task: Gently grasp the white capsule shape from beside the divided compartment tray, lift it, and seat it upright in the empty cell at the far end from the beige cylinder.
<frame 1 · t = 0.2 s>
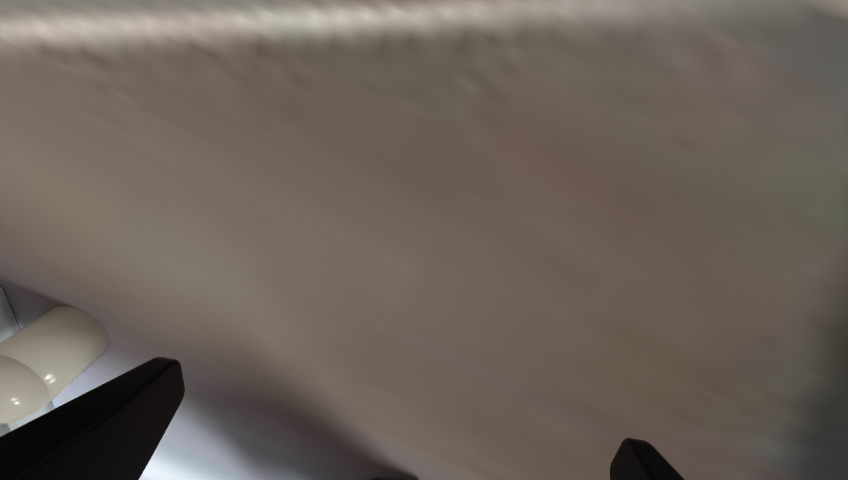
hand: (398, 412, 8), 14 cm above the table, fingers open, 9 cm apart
divided compartment tray: (4, 395, 32), on the table
white capsule shape: (77, 332, 28), on the table
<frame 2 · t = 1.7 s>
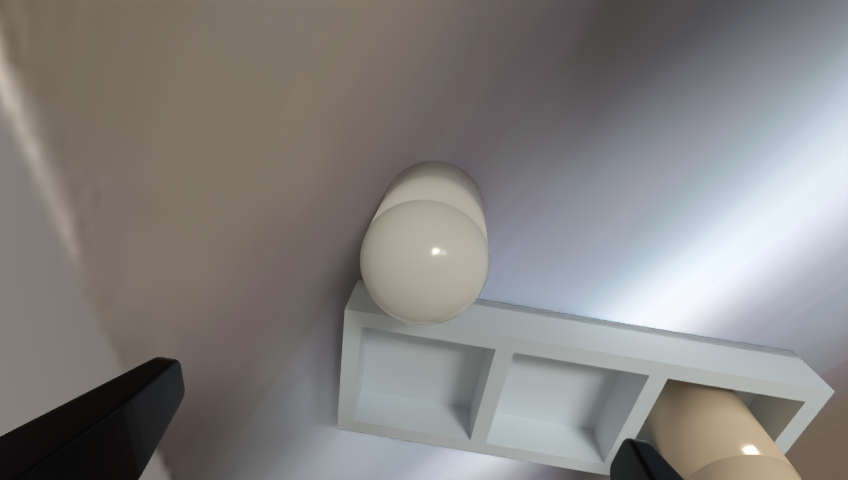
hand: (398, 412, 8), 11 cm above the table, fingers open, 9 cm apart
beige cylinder: (685, 402, 21), point 1 cm above the table, touching divided compartment tray
divided compartment tray: (551, 373, 22), on the table
white capsule shape: (433, 210, 18), on the table
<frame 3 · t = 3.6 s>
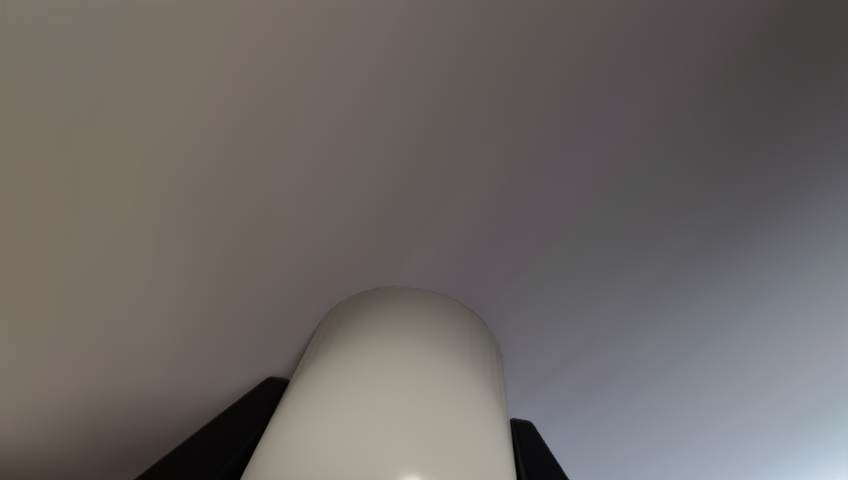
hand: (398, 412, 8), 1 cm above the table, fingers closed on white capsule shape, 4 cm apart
white capsule shape: (405, 368, 9), on the table, touching gripper
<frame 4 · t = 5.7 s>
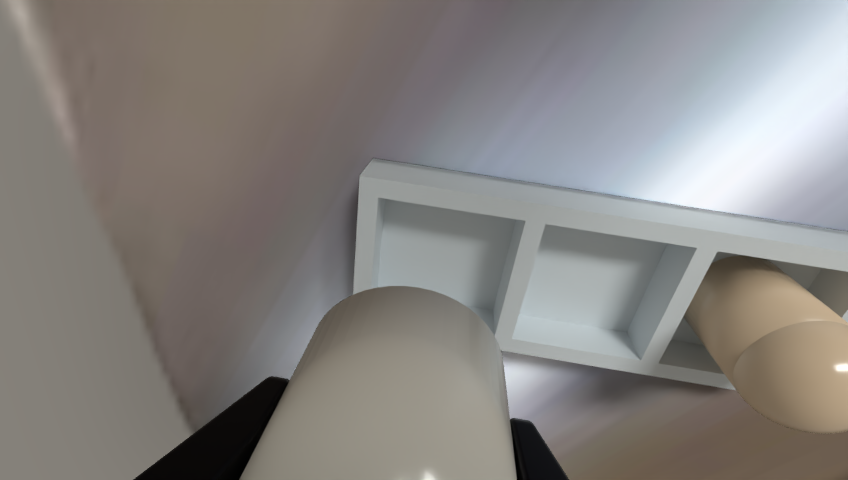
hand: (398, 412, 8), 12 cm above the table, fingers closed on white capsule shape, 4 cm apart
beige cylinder: (730, 296, 19), point 1 cm above the table, touching divided compartment tray
divided compartment tray: (583, 267, 20), on the table
white capsule shape: (405, 367, 9), point 11 cm above the table, touching gripper
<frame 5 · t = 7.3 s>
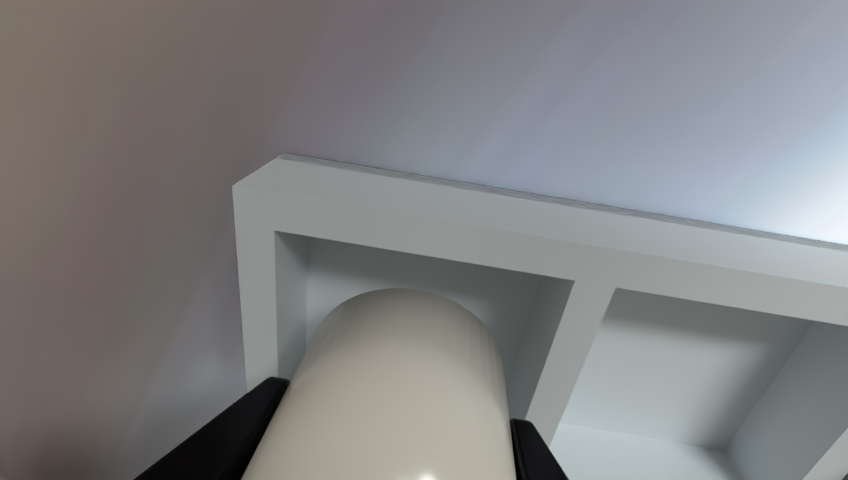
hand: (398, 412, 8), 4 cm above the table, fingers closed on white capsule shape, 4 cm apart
divided compartment tray: (656, 346, 12), on the table
white capsule shape: (405, 369, 9), point 3 cm above the table, touching gripper
when the fingers open (3 cm above the table, at t = 8.2 s): white capsule shape drops 1 cm, resting on divided compartment tray.
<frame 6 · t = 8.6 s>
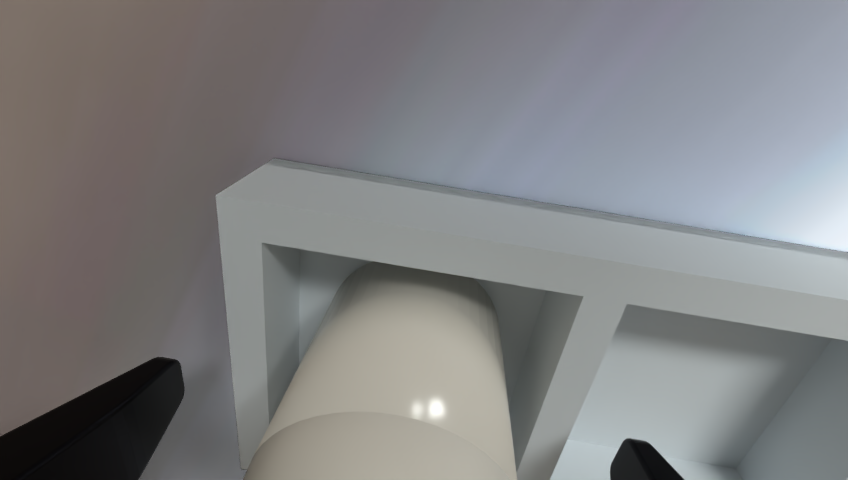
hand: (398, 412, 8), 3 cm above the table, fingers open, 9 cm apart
divided compartment tray: (665, 360, 11), on the table
white capsule shape: (413, 329, 11), resting on divided compartment tray
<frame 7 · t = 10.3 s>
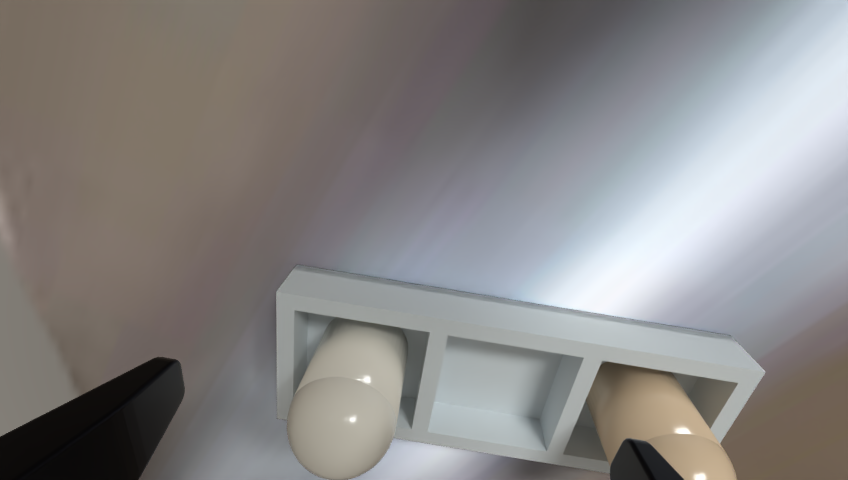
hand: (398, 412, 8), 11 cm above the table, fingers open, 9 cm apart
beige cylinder: (628, 389, 21), point 1 cm above the table, touching divided compartment tray
divided compartment tray: (496, 360, 22), on the table
white capsule shape: (365, 346, 21), resting on divided compartment tray
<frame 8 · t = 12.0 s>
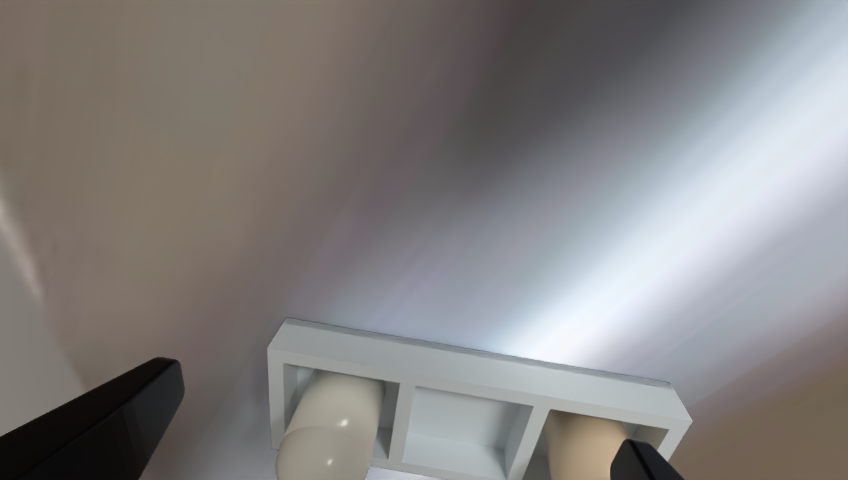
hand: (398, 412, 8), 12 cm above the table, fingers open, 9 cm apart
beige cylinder: (581, 426, 24), point 1 cm above the table, touching divided compartment tray
divided compartment tray: (464, 399, 24), on the table
white capsule shape: (348, 386, 24), resting on divided compartment tray
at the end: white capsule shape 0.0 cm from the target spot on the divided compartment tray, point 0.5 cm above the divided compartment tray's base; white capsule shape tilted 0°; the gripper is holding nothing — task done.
